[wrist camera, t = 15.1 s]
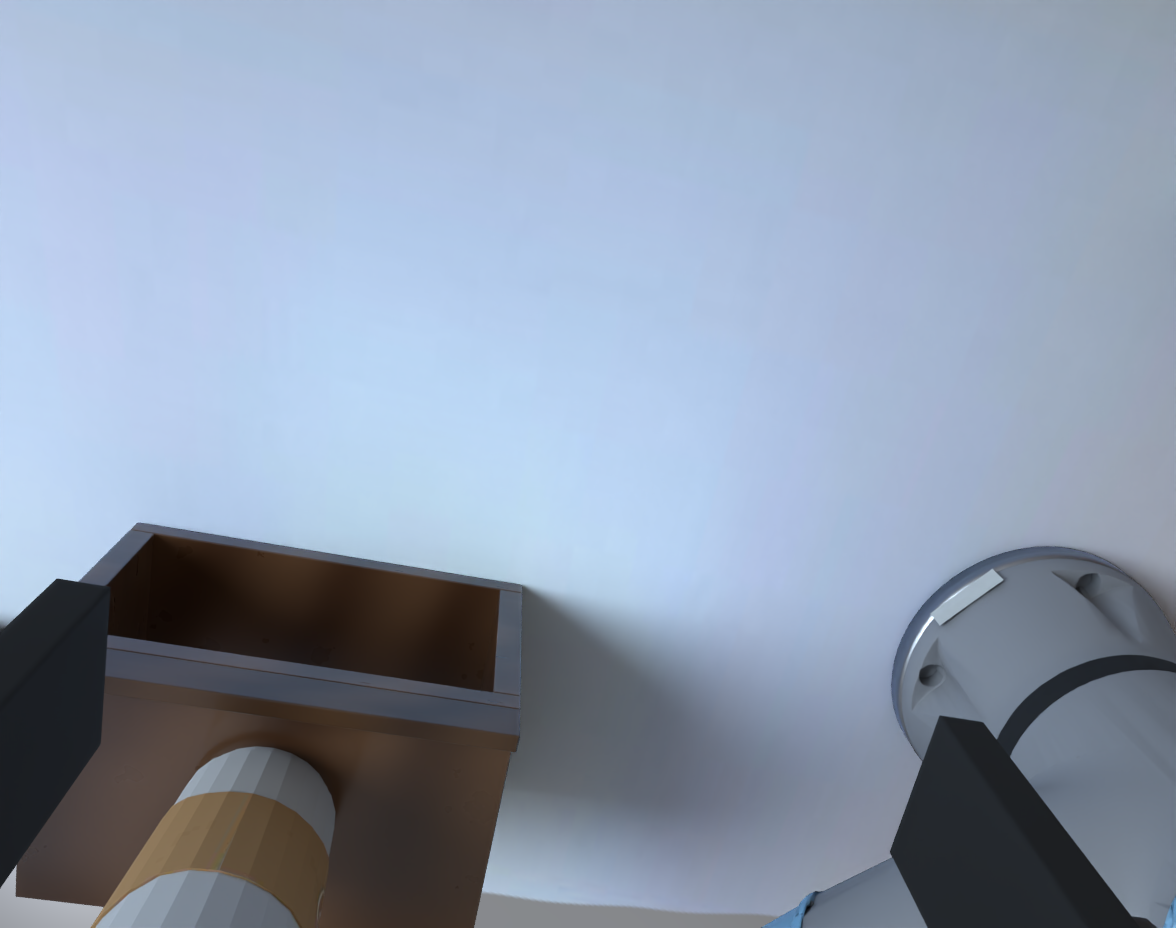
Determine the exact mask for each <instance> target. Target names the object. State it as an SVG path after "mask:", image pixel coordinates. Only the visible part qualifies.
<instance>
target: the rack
mask: <svg viewBox="0 0 1176 928" xmlns="http://www.w3.org/2000/svg"><path fill="white" fill-rule="evenodd" d="M79 582H82V583H89V584H95V585H101V586H108V587H111V589H110V605H109V621H108V637H107V653H106V669H105V685H104V701H103V717H102V733H101V745H100V746H99V747H98V749H97V750H96V752H95V753H94V755H93V756H92V757H91V759H90V760H89V762H88V763H87V765H86V766H85V767H84V769H83V770H82V772H81V773H80V775H79V776H78V777H77V779H76V780H75V782H74V783H73V785H72V786H71V787H70V789H69V790H68V792H67V793H66V795H65V796H64V798H63V799H62V800H61V802H60V803H59V805H58V806H57V808H56V809H55V810H54V812H53V813H52V815H51V816H50V818H49V819H48V820H47V822H46V823H45V825H44V826H43V828H42V829H41V830H40V832H39V833H38V835H37V836H36V838H35V839H34V840H33V842H32V843H31V845H30V846H29V848H28V849H27V851H26V852H25V853H24V855H23V856H22V858H21V859H20V861H19V862H18V863H17V870H16V872H17V873H16V897H25V898H33V899H42V900H50V901H59V902H67V903H75V904H84V905H92V906H101V907H104V906H105V905H106V903H107V902H108V900H109V899H110V897H111V896H112V894H113V893H114V891H115V890H116V888H117V887H118V885H119V884H120V882H121V881H122V879H123V878H124V876H125V874H126V873H127V871H128V870H129V868H130V867H131V865H132V864H133V862H134V861H135V859H136V858H137V856H138V855H139V853H140V852H141V850H142V849H143V847H144V846H145V844H146V842H147V841H148V839H149V838H150V836H151V835H152V833H153V832H154V830H155V829H156V827H157V826H158V824H159V823H160V821H161V820H162V818H163V817H164V816H165V815H166V813H167V812H168V811H169V809H170V808H171V807H172V806H173V805H174V804H175V802H176V801H177V799H178V798H179V796H180V795H181V793H182V792H183V790H184V789H185V787H186V785H187V784H188V783H189V781H190V780H191V779H192V777H193V776H194V775H195V773H196V772H197V771H198V770H199V769H200V768H201V767H203V766H204V765H205V764H207V763H208V762H209V761H211V760H212V759H214V758H217V757H219V756H221V755H223V754H226V753H228V752H231V751H234V750H236V749H240V748H247V747H255V746H258V747H270V748H276V749H280V750H283V751H286V752H289V753H292V754H294V755H296V756H297V757H299V758H301V759H302V760H304V761H306V762H307V763H308V764H310V765H311V766H312V767H313V768H314V769H315V770H316V771H317V772H318V773H319V774H320V776H321V778H322V779H323V781H324V783H325V784H326V786H327V788H328V791H329V792H330V794H331V796H332V800H333V804H334V808H335V824H334V832H333V837H332V843H331V848H330V854H329V870H328V876H327V882H326V888H325V893H324V899H323V904H322V910H321V916H320V921H319V927H318V928H474V925H475V920H476V915H477V911H478V906H479V902H480V897H481V892H482V887H483V883H484V878H485V873H486V869H487V864H488V859H489V854H490V850H491V845H492V840H493V836H494V831H495V826H496V821H497V817H498V812H499V807H500V803H501V798H502V793H503V788H504V784H505V779H506V774H507V770H508V765H509V760H510V755H511V752H516V751H517V747H518V743H519V738H520V690H521V632H522V585H519V584H512V583H506V582H500V581H494V580H488V579H482V578H475V577H469V576H463V575H457V574H451V573H445V572H439V571H432V570H426V569H420V568H414V567H408V566H402V565H396V564H389V563H383V562H377V561H371V560H365V559H359V558H352V557H346V556H340V555H334V554H328V553H322V552H316V551H309V550H303V549H297V548H291V547H285V546H279V545H273V544H266V543H260V542H254V541H248V540H242V539H236V538H230V537H223V536H217V535H211V534H205V533H199V532H193V531H186V530H180V529H174V528H168V527H162V526H156V525H150V524H143V523H137V524H136V525H135V526H134V527H133V528H132V529H131V530H130V531H129V532H128V533H127V534H126V535H125V536H124V537H123V538H122V539H121V540H120V541H119V542H118V543H117V544H116V545H115V546H114V547H113V548H112V549H111V550H110V551H109V552H108V553H107V554H106V555H105V556H104V557H103V558H102V559H101V560H100V561H99V562H98V563H97V564H96V565H95V566H94V567H93V568H92V569H91V570H90V571H89V572H88V573H87V574H86V575H85V576H84V577H83V578H82V579H81V580H80V581H79Z"/></svg>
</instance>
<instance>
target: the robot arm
mask: <svg viewBox="0 0 1176 928" xmlns="http://www.w3.org/2000/svg"><path fill="white" fill-rule="evenodd" d="M110 589H111V587H108V586H101V585H95V584H89V583H82V582H76V581H69V580H63V579H56V580H55V581H54V582H53V583H52V584H51V585H50V586H49V587H48V588H46V589H45V590H44V591H43V592H42V593H41V594H40V595H39V596H38V597H37V598H36V599H35V600H34V601H33V602H32V603H31V604H30V605H29V606H27V607H26V608H25V609H24V610H23V611H22V612H21V613H20V614H19V615H18V616H17V617H16V618H15V619H14V620H13V621H12V622H11V623H10V624H9V625H7V626H6V627H5V628H4V629H3V630H2V631H1V632H0V888H1V886H2V885H3V883H4V882H5V880H6V879H7V877H8V876H9V875H10V873H11V872H12V871H13V869H14V868H15V866H16V865H17V863H18V862H19V861H20V859H21V858H22V856H23V855H24V853H25V852H26V851H27V849H28V848H29V846H30V845H31V843H32V842H33V840H34V839H35V838H36V836H37V835H38V833H39V832H40V830H41V829H42V828H43V826H44V825H45V823H46V822H47V820H48V819H49V818H50V816H51V815H52V813H53V812H54V810H55V809H56V808H57V806H58V805H59V803H60V802H61V800H62V799H63V798H64V796H65V795H66V793H67V792H68V790H69V789H70V787H71V786H72V785H73V783H74V782H75V780H76V779H77V777H78V776H79V775H80V773H81V772H82V770H83V769H84V767H85V766H86V765H87V763H88V762H89V760H90V759H91V757H92V756H93V755H94V753H95V752H96V750H97V749H98V747H99V746H100V745H101V733H102V717H103V701H104V685H105V669H106V653H107V637H108V621H109V605H110ZM891 688H892V700H893V706H894V710H895V714H896V717H897V720H898V722H899V725H900V727H901V729H902V731H903V732H904V734H905V736H906V738H907V739H908V741H909V743H910V744H911V746H912V747H913V749H914V751H915V752H916V754H917V755H918V756H919V758H920V759H921V760H922V761H923V762H922V765H921V768H920V770H919V773H918V776H917V779H916V781H915V784H914V787H913V790H912V792H911V795H910V798H909V801H908V803H907V806H906V809H905V812H904V814H903V817H902V820H901V823H900V825H899V828H898V831H897V834H896V836H895V839H894V842H893V845H892V847H891V850H890V853H891V855H892V858H890V859H888V860H886V861H884V862H882V863H880V864H878V865H876V866H874V867H872V868H870V869H868V870H866V871H864V872H862V873H860V874H858V875H856V876H854V877H852V878H850V879H848V880H846V881H843V882H841V883H839V884H837V885H835V886H833V887H831V888H829V889H827V890H825V891H821V892H818V891H815V892H813V893H810V894H809V895H808V896H806V897H805V898H804V899H803V900H802V901H801V902H800V904H799V906H798V907H796V908H794V909H793V910H791V911H789V912H787V913H786V914H784V915H782V916H780V917H779V918H777V919H776V920H773V921H772V922H770V923H768V924H766V925H765V926H763V927H761V928H1176V636H1175V634H1174V632H1173V630H1172V628H1171V626H1170V624H1169V622H1168V620H1167V619H1166V617H1165V615H1164V613H1163V612H1162V610H1161V609H1160V608H1159V606H1158V605H1157V604H1156V603H1155V601H1154V600H1153V599H1152V597H1151V596H1150V595H1149V594H1148V593H1147V592H1146V590H1145V589H1144V588H1143V587H1142V586H1141V585H1139V584H1138V583H1137V582H1136V581H1134V580H1133V579H1132V578H1130V577H1129V576H1128V575H1126V574H1125V573H1124V572H1122V571H1121V570H1120V569H1118V568H1117V567H1116V566H1114V565H1112V564H1111V563H1109V562H1108V561H1106V560H1104V559H1102V558H1099V557H1097V556H1095V555H1092V554H1089V553H1086V552H1083V551H1079V550H1075V549H1070V548H1062V547H1031V548H1024V549H1018V550H1014V551H1010V552H1005V553H1002V554H999V555H996V556H993V557H990V558H988V559H986V560H983V561H981V562H979V563H977V564H975V565H973V566H971V567H969V568H967V569H966V570H964V571H962V572H961V573H959V574H958V575H956V576H955V577H953V578H952V579H951V580H949V581H948V582H947V583H945V584H944V585H943V586H942V587H941V588H940V589H938V590H937V591H936V592H935V593H934V594H933V595H932V596H931V597H930V598H929V599H928V600H927V601H926V603H925V604H924V605H923V606H922V607H921V609H920V610H919V611H918V612H917V614H916V615H915V616H914V618H913V620H912V621H911V623H910V624H909V626H908V628H907V630H906V632H905V634H904V635H903V637H902V640H901V642H900V645H899V647H898V650H897V653H896V657H895V660H894V665H893V671H892V683H891Z"/></svg>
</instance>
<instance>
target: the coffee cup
mask: <svg viewBox="0 0 1176 928" xmlns="http://www.w3.org/2000/svg"><path fill="white" fill-rule="evenodd" d="M334 824H335V808H334V804H333V800H332V796H331V794H330V792H329V791H328V788H327V786H326V784H325V783H324V781H323V779H322V778H321V776H320V774H319V773H318V772H317V771H316V770H315V769H314V768H313V767H312V766H311V765H310V764H308V763H307V762H306V761H304V760H302V759H301V758H299V757H297V756H296V755H294V754H292V753H289V752H286V751H283V750H280V749H276V748H270V747H258V746H255V747H247V748H240V749H236V750H234V751H231V752H228V753H226V754H223V755H221V756H219V757H217V758H214V759H212V760H211V761H209V762H208V763H207V764H205V765H204V766H203V767H201V768H200V769H199V770H198V771H197V772H196V773H195V775H194V776H193V777H192V779H191V780H190V781H189V783H188V784H187V785H186V787H185V789H184V790H183V792H182V793H181V795H180V796H179V798H178V799H177V801H176V802H175V804H174V805H173V806H172V807H171V808H170V809H169V811H168V812H167V813H166V815H165V816H164V817H163V818H162V820H161V821H160V823H159V824H158V826H157V827H156V829H155V830H154V832H153V833H152V835H151V836H150V838H149V839H148V841H147V842H146V844H145V846H144V847H143V849H142V850H141V852H140V853H139V855H138V856H137V858H136V859H135V861H134V862H133V864H132V865H131V867H130V868H129V870H128V871H127V873H126V874H125V876H124V878H123V879H122V881H121V882H120V884H119V885H118V887H117V888H116V890H115V891H114V893H113V894H112V896H111V897H110V899H109V900H108V902H107V903H106V905H105V906H104V908H103V910H102V911H101V913H100V914H99V916H98V917H97V919H96V920H95V922H94V923H93V925H92V926H91V928H318V927H319V921H320V916H321V910H322V904H323V899H324V893H325V888H326V882H327V876H328V870H329V854H330V848H331V843H332V837H333V832H334Z"/></svg>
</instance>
